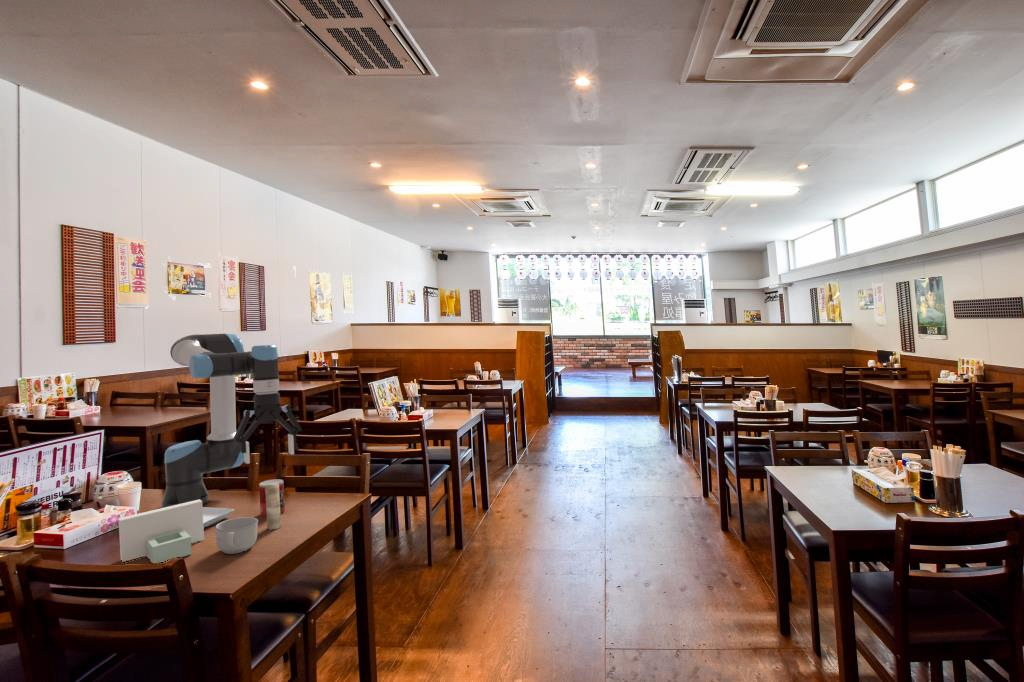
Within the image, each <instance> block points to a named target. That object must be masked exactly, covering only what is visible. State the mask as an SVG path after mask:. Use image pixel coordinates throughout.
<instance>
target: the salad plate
mask: <svg viewBox="0 0 1024 682" xmlns="http://www.w3.org/2000/svg"><path fill="white" fill-rule="evenodd" d="M234 511H235V509H234V508H225V507H207V506H205V507H203V526H204V529H205V527H206V528H207V527H209V526H212V525H214V524H217V523H218V522H220V521H222V520H224V519H226V518H227V517H229V516H231V514H233V512H234Z"/></svg>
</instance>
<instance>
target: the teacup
mask: <svg viewBox="0 0 1024 682" xmlns="http://www.w3.org/2000/svg"><path fill="white" fill-rule="evenodd" d="M258 523H259V519H258V518H257V517H256V518H255V517H247V516H245V517H243V516H242V517H241V516H240V517H235V518H230V519H226V520H223V521H221V522H220V521H219V523H216V525H215V531H216V532H215V541H216V542H215V544H216V546H217V548H218V549H219V550H220V551H222V552H223V553H224V554H229V555H233V554H234V555H235V554H240V553H244V552H246V551H247V550H249V549H250V548H251V547H252V546H253V545H254V544H255V543H256V542H257V539H258V538H257V537H258V526H259V524H258ZM243 551H244V552H243Z"/></svg>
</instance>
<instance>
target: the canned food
mask: <svg viewBox="0 0 1024 682" xmlns="http://www.w3.org/2000/svg"><path fill="white" fill-rule="evenodd" d="M271 483H279V496H280V513H282V512H283V513H284V512H285V511H286V507H285V505H286V504H285V485H284V484H285V483H284V479H279V478H278V479H277V478H276V479H275V478H274V479H273V478H272V479H267V480H264V481H262V482H259V484H258V493H259V508H260V509H259V511H260V512H259V513H260V515H261V516H262V515H263V516H267V512H266V492H265V485H267V484H271ZM283 513H282V514H283ZM263 516H262V517H263Z"/></svg>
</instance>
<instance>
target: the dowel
mask: <svg viewBox="0 0 1024 682" xmlns="http://www.w3.org/2000/svg"><path fill="white" fill-rule="evenodd" d="M265 492H266V512H267V517H266V528H267V529H269V530H268V531H273V530H272V529H276V530H278V529H277V528H279V529H280V528H281V527H282V520H281V514H280V496H279V483H271V484H267V485H265ZM267 529H266V530H267ZM270 529H271V530H270Z"/></svg>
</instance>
